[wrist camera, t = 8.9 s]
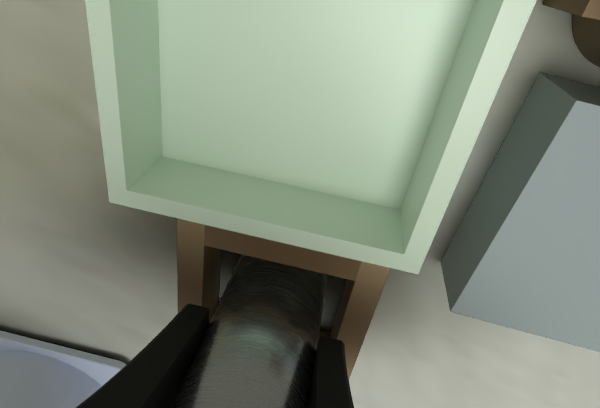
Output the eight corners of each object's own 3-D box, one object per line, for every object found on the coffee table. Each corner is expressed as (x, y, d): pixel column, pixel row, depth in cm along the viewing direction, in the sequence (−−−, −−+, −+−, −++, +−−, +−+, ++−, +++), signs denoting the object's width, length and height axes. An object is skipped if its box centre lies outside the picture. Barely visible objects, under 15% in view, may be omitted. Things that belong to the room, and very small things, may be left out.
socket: (346, 351, 16) (343, 394, 14) (197, 314, 16) (178, 352, 14) (390, 228, 12) (391, 266, 11) (201, 185, 13) (176, 216, 11)
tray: (411, 218, 12) (418, 274, 10) (154, 160, 12) (109, 202, 10) (540, -121, 8) (601, -150, 6) (139, -192, 8) (55, -243, 6)
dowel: (317, 318, 15) (278, 555, 9) (234, 297, 15) (141, 517, 9) (335, 252, 13) (300, 491, 7) (240, 230, 13) (131, 447, 7)
